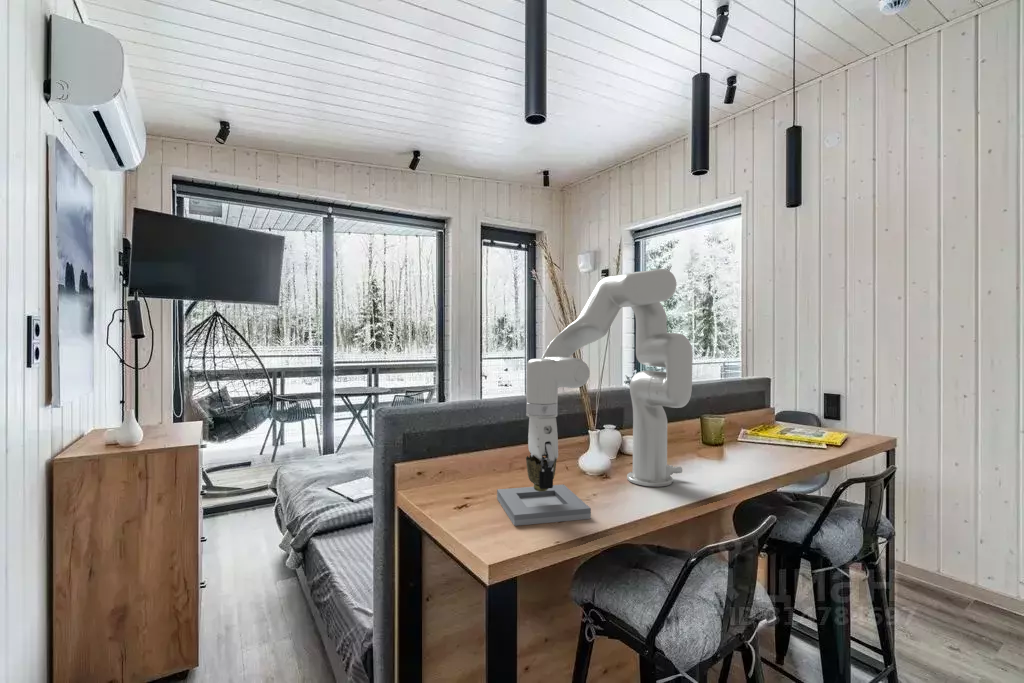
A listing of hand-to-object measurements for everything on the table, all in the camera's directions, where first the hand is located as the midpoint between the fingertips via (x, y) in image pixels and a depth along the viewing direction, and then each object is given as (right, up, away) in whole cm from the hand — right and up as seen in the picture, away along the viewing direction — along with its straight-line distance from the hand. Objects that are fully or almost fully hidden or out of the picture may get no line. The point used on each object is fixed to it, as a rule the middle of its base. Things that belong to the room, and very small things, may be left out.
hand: (541, 482), depth 118 cm
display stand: (0, -6, 0) cm, 6 cm away
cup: (0, -2, 0) cm, 2 cm away
